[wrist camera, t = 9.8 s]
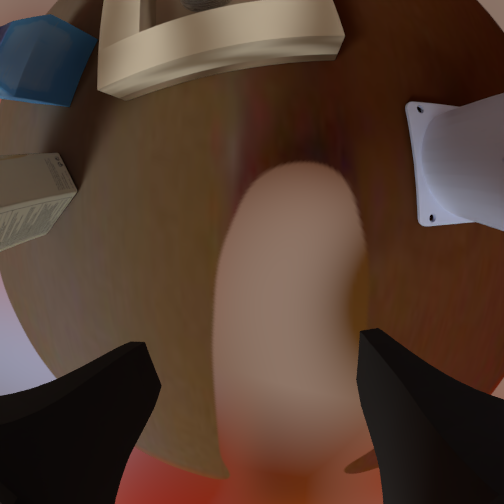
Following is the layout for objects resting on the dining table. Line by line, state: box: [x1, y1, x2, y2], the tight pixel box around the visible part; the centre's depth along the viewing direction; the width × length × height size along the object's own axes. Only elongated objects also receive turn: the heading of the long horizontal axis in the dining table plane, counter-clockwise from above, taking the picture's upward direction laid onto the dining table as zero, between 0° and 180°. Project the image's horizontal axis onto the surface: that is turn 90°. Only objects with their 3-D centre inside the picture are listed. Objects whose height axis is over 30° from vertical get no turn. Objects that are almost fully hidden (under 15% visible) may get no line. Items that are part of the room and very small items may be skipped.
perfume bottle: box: [0, 14, 98, 107], centre depth 9 cm, size 6×6×12 cm
